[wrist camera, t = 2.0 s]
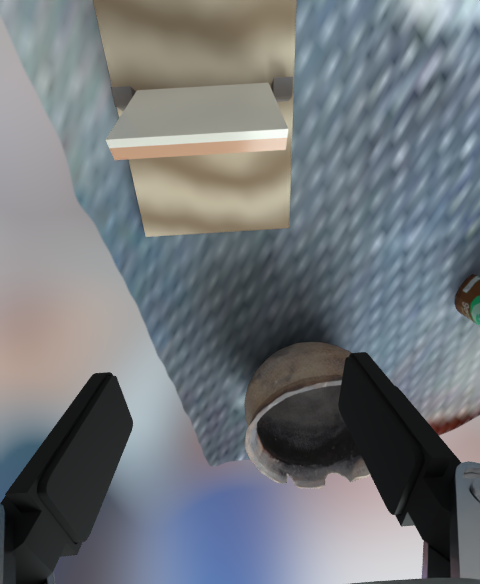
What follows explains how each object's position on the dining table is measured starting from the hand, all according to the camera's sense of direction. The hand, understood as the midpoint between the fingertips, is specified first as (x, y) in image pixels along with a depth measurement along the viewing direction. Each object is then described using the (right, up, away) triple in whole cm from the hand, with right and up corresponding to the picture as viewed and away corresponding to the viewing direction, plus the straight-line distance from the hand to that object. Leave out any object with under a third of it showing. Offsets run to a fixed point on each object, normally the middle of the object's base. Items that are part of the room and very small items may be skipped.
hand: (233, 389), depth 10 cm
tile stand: (-4, +27, +18) cm, 32 cm away
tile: (-3, +20, +13) cm, 25 cm away
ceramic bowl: (+12, -11, +36) cm, 39 cm away
